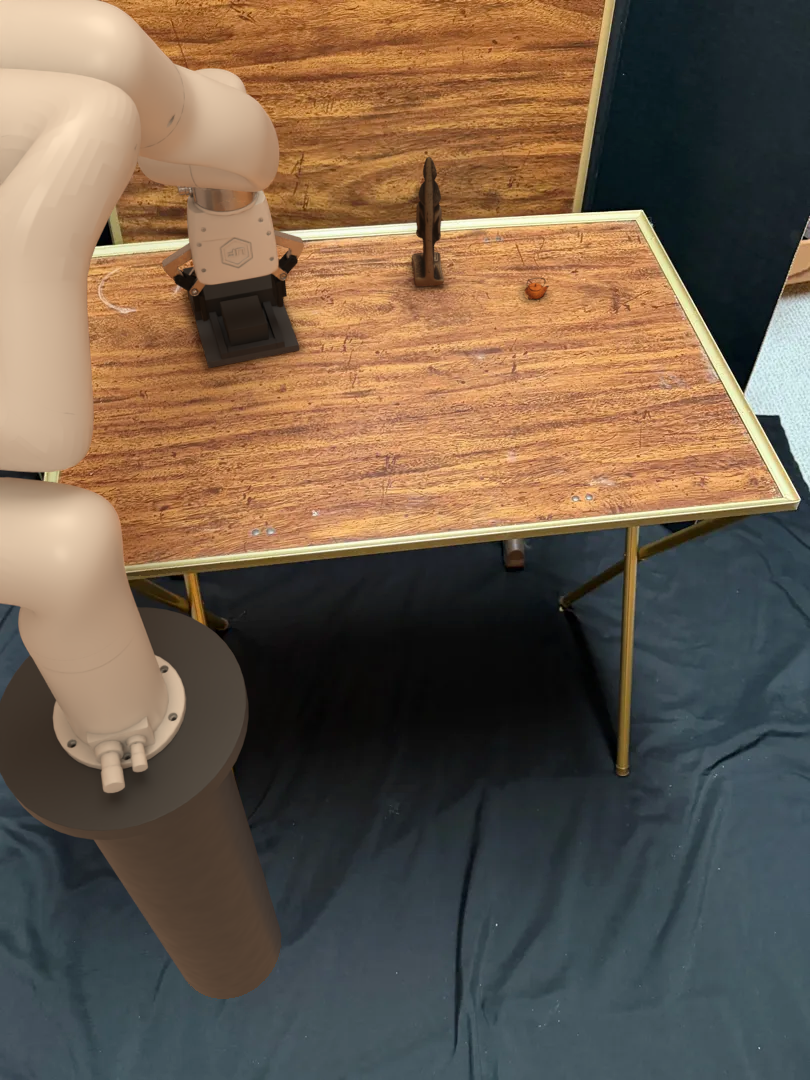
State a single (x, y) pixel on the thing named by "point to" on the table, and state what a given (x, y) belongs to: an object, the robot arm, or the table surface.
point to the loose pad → (244, 320)
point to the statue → (428, 229)
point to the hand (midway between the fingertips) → (241, 307)
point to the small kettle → (535, 290)
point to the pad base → (215, 332)
